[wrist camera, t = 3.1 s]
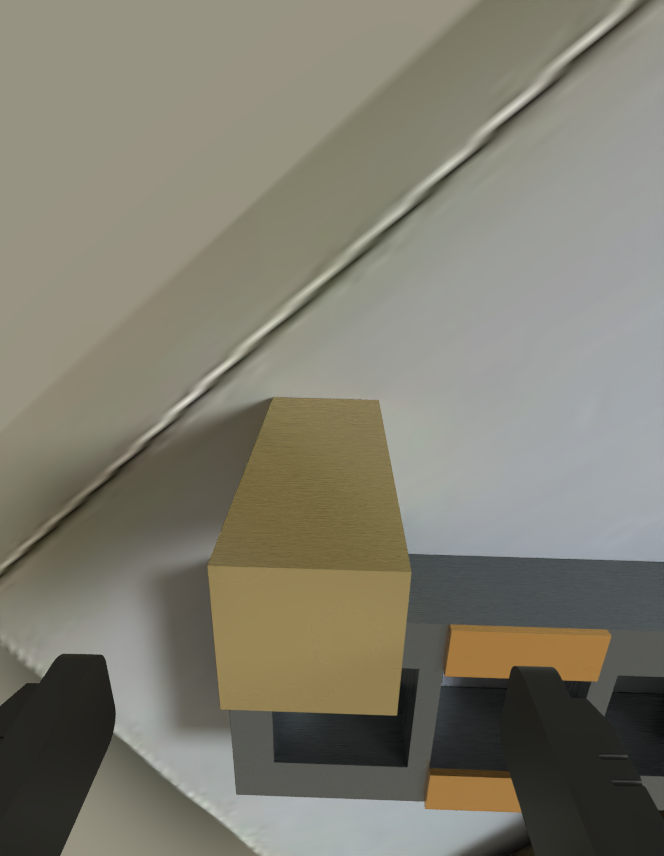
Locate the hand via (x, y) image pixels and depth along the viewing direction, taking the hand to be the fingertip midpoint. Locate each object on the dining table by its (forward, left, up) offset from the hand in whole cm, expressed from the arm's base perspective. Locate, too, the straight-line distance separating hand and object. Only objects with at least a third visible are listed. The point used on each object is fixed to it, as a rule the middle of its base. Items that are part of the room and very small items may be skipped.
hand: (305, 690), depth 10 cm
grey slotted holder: (+10, +8, -11) cm, 16 cm away
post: (0, 0, -11) cm, 11 cm away
